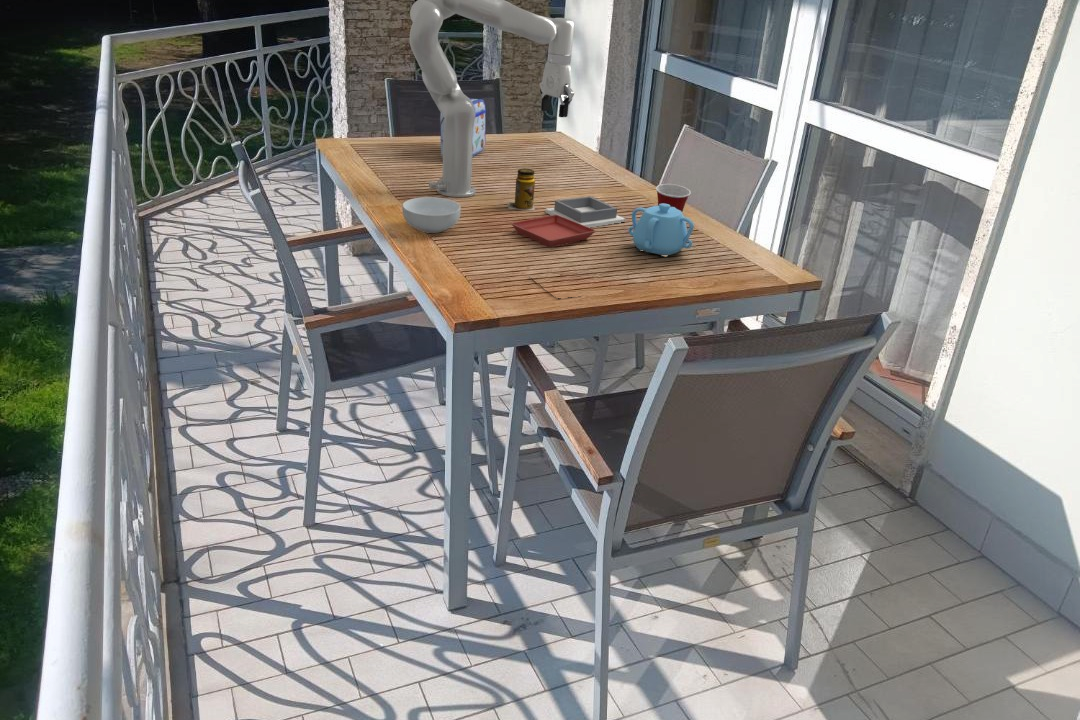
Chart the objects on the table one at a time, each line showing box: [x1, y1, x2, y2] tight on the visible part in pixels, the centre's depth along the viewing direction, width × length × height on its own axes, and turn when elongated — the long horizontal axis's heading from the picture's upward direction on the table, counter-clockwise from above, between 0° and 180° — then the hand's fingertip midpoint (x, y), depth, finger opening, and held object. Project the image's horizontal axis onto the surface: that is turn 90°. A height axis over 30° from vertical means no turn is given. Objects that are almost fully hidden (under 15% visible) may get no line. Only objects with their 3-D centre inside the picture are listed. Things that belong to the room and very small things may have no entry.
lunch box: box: [439, 97, 487, 159], centre depth 325 cm, size 28×10×22 cm, turn 162°
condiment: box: [506, 167, 536, 211], centre depth 275 cm, size 7×8×12 cm
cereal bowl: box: [401, 196, 461, 234], centre depth 250 cm, size 17×17×7 cm
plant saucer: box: [511, 215, 596, 248], centre depth 253 cm, size 18×18×3 cm
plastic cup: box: [655, 183, 692, 213], centre depth 268 cm, size 11×11×12 cm
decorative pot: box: [628, 203, 695, 256], centre depth 246 cm, size 16×16×14 cm
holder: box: [545, 195, 626, 228], centre depth 271 cm, size 18×18×4 cm
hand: (554, 113), depth 284 cm, fingers open, 9 cm apart
